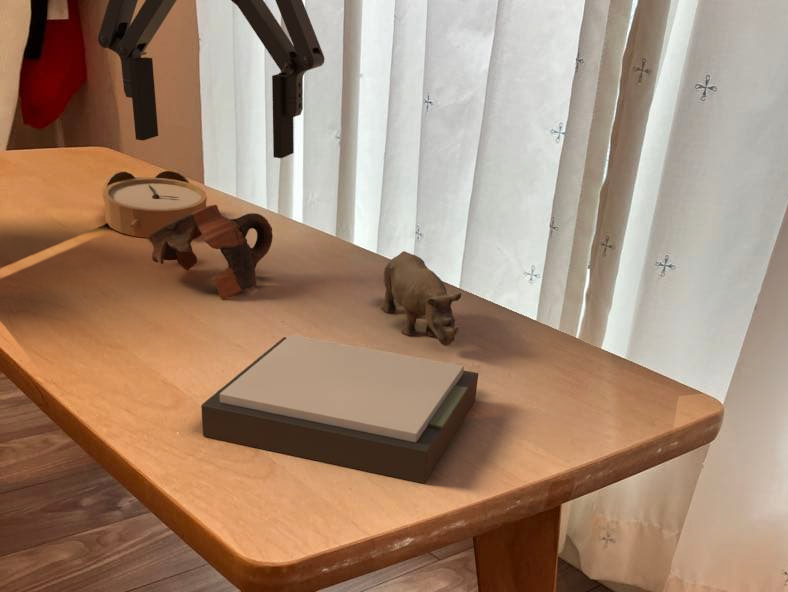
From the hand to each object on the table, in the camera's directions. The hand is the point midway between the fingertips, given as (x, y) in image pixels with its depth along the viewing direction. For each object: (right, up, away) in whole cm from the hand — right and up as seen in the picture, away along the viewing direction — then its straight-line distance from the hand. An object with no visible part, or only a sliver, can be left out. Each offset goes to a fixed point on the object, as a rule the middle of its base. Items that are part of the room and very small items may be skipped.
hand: (214, 146), depth 86 cm
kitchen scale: (+13, -27, -16) cm, 34 cm away
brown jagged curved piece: (-1, -11, +7) cm, 13 cm away
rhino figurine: (+19, -17, -1) cm, 25 cm away
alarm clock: (-12, +1, +23) cm, 26 cm away
